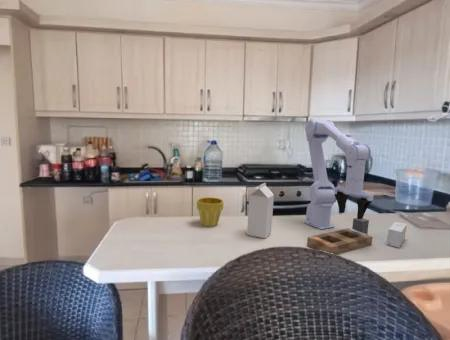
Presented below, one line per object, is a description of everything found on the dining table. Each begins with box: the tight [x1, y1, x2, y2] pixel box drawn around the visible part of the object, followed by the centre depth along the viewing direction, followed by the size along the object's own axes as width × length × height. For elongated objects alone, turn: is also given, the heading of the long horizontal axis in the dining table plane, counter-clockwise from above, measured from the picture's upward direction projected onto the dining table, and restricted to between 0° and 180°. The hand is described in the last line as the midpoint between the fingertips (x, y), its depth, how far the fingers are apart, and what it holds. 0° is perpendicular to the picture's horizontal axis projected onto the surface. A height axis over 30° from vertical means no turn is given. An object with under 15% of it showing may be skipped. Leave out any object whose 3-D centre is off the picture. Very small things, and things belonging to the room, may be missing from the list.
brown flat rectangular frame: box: [306, 227, 374, 256], centre depth 111 cm, size 10×22×3 cm, turn 123°
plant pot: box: [196, 196, 224, 228], centre depth 126 cm, size 10×10×10 cm
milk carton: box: [246, 182, 275, 239], centre depth 117 cm, size 7×7×19 cm
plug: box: [351, 216, 370, 235], centre depth 123 cm, size 4×4×7 cm
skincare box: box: [386, 221, 407, 248], centre depth 117 cm, size 6×4×12 cm
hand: (350, 215), depth 115 cm, fingers open, 7 cm apart
